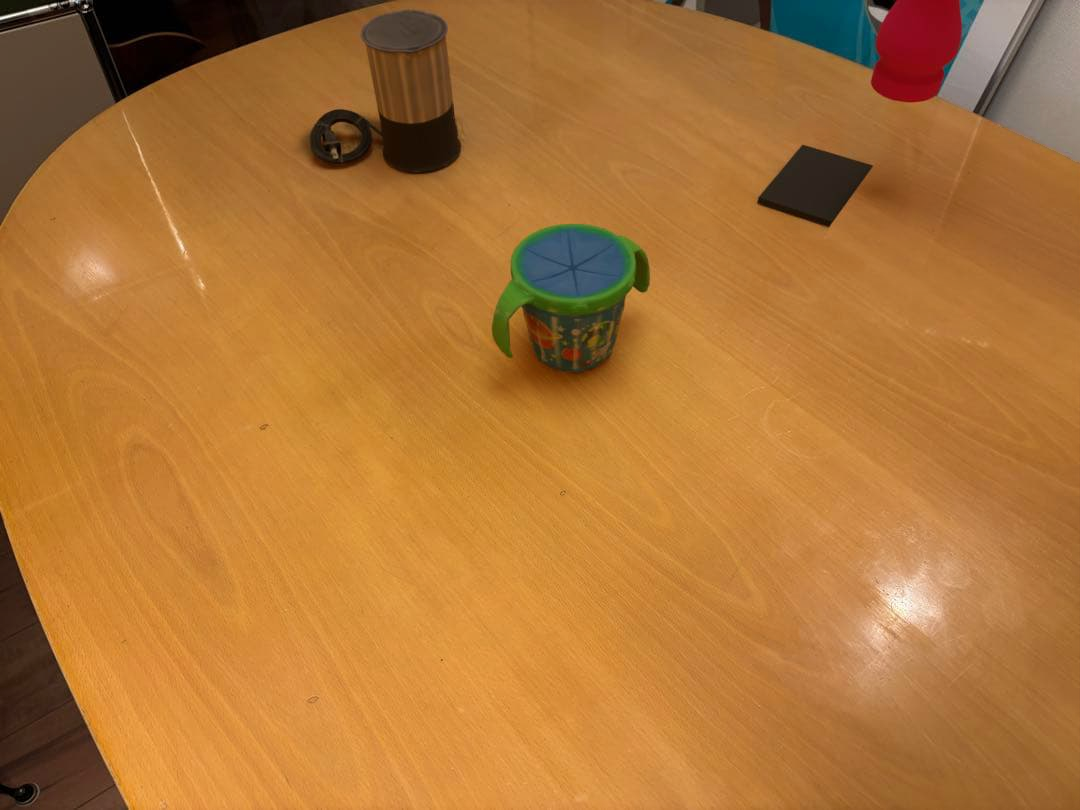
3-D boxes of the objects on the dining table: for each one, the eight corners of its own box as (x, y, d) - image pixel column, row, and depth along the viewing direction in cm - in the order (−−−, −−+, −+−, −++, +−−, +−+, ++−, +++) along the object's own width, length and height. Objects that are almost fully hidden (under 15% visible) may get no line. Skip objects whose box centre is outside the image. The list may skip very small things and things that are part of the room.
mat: (979, 203, 92) (982, 197, 92) (945, 265, 86) (947, 259, 85) (801, 150, 100) (802, 144, 100) (757, 203, 94) (758, 197, 93)
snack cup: (616, 286, 85) (619, 199, 78) (676, 352, 79) (687, 264, 72) (472, 342, 81) (461, 255, 73) (524, 416, 75) (518, 329, 67)
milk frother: (476, 156, 101) (464, 31, 90) (355, 205, 96) (325, 78, 85) (417, 106, 110) (399, -14, 98) (302, 148, 104) (269, 25, 93)
